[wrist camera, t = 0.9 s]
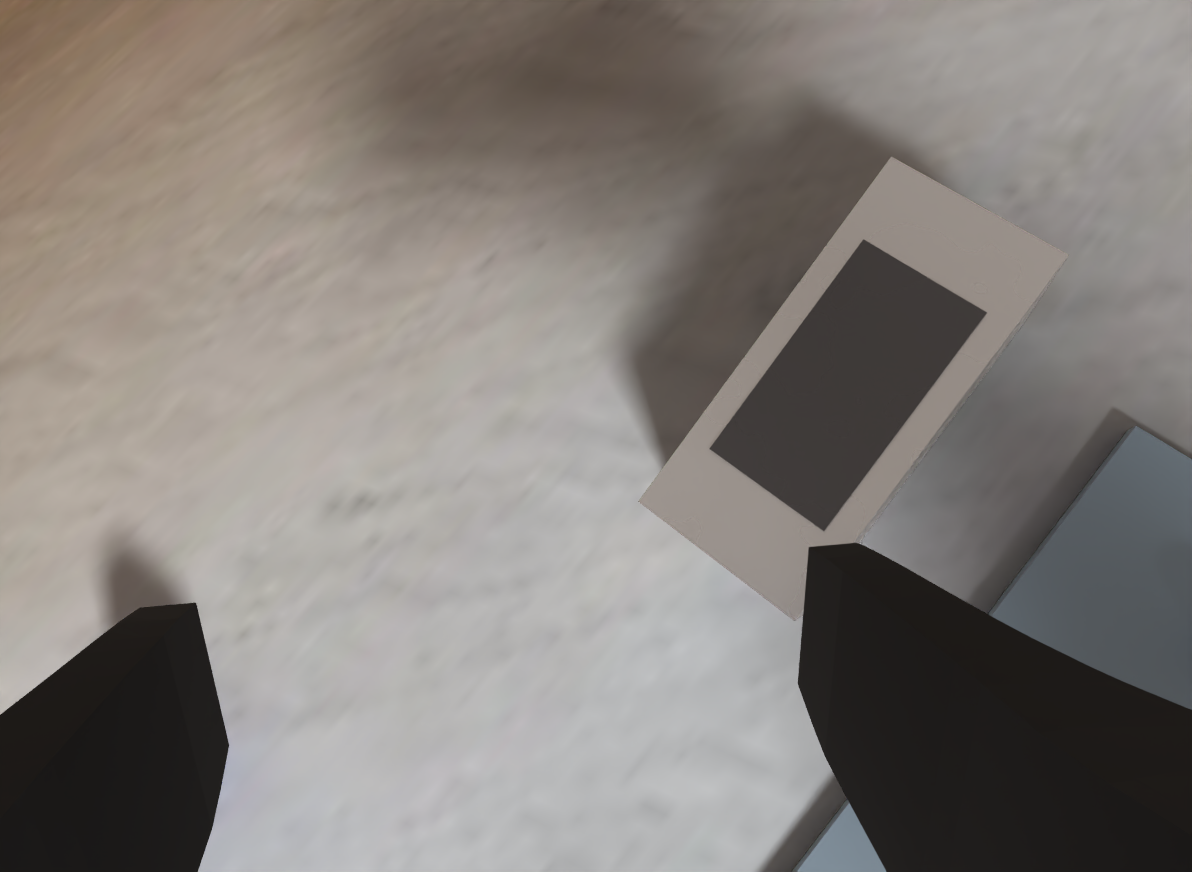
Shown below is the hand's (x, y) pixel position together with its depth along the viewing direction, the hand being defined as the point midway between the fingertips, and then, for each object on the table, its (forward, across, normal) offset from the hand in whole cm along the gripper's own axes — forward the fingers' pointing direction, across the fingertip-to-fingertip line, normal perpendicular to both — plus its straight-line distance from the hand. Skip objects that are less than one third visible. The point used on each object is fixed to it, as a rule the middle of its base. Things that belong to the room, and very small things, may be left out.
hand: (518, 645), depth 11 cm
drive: (+14, -10, +4) cm, 18 cm away
